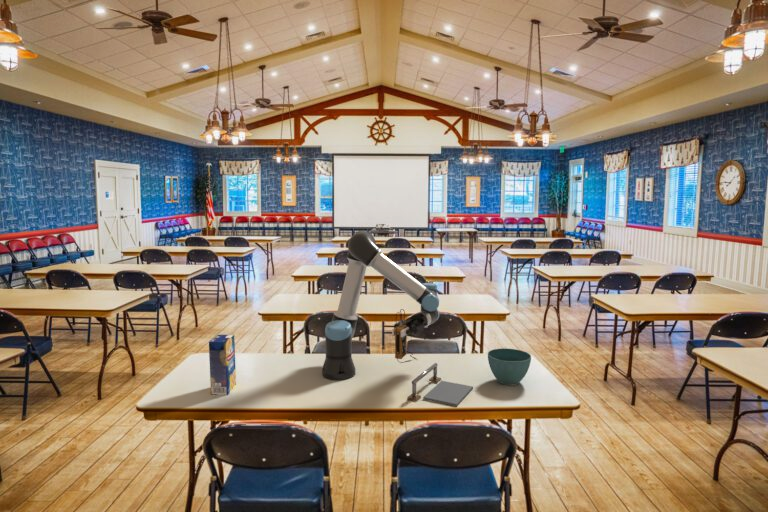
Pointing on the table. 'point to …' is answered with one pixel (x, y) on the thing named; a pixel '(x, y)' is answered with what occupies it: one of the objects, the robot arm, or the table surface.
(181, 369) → the table surface
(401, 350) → the multimeter
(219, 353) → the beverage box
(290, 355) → the table surface
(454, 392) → the mat
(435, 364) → the bent rod hurdle
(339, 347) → the robot arm
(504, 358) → the teal bowl
